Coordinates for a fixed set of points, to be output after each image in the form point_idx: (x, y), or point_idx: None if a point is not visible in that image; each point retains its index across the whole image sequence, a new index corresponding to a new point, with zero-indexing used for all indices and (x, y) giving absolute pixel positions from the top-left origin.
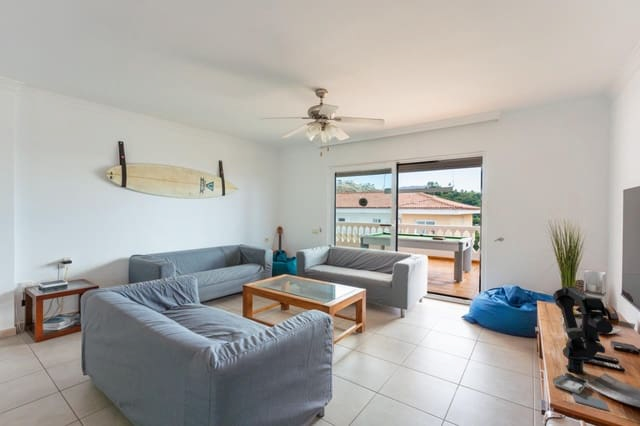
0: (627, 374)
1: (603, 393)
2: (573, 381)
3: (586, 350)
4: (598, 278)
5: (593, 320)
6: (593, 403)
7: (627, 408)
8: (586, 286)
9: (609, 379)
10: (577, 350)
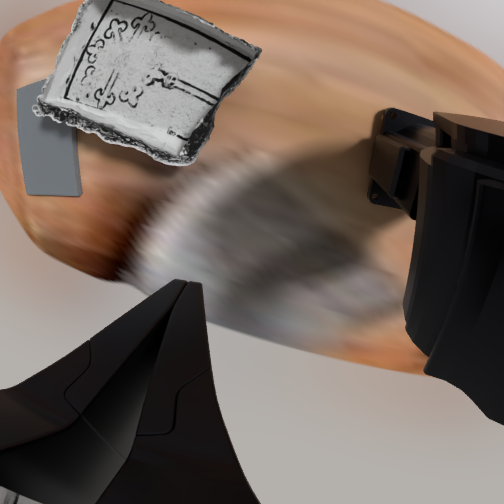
0: (419, 362)
1: (166, 217)
2: (222, 88)
3: (109, 370)
4: None
5: None
6: (31, 150)
7: (93, 262)
8: None
9: (363, 300)
10: (455, 239)
